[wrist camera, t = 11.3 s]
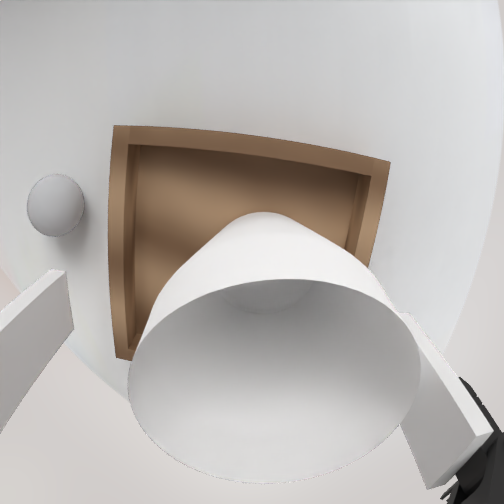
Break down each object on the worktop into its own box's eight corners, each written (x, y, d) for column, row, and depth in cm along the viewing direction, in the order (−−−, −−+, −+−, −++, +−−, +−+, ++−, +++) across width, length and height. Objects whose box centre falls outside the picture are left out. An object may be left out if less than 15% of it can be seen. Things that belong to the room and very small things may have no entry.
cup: (355, 290, 20) (438, 425, 9) (235, 346, 21) (225, 500, 10) (296, 163, 17) (377, 197, 6) (163, 236, 19) (63, 354, 7)
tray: (133, 127, 18) (113, 125, 15) (371, 158, 18) (390, 161, 15) (129, 334, 22) (116, 357, 20) (322, 358, 23) (330, 383, 20)
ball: (49, 170, 18) (15, 177, 14) (95, 172, 18) (63, 179, 15) (49, 224, 20) (17, 240, 16) (94, 230, 20) (64, 248, 16)
